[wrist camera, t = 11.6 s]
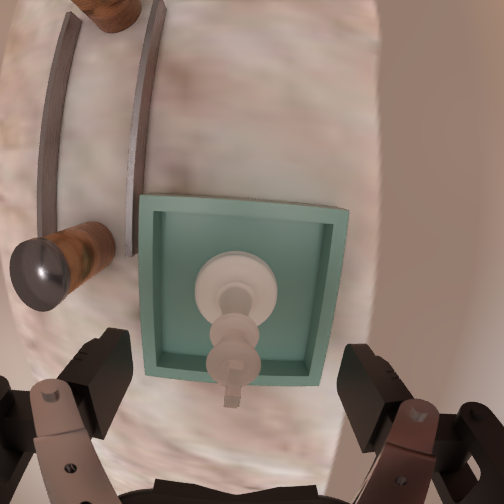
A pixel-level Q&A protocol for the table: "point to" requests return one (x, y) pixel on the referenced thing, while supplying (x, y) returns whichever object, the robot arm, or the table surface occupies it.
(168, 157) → the table surface
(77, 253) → the rail
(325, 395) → the table surface
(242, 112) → the table surface
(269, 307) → the chess piece
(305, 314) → the tray
